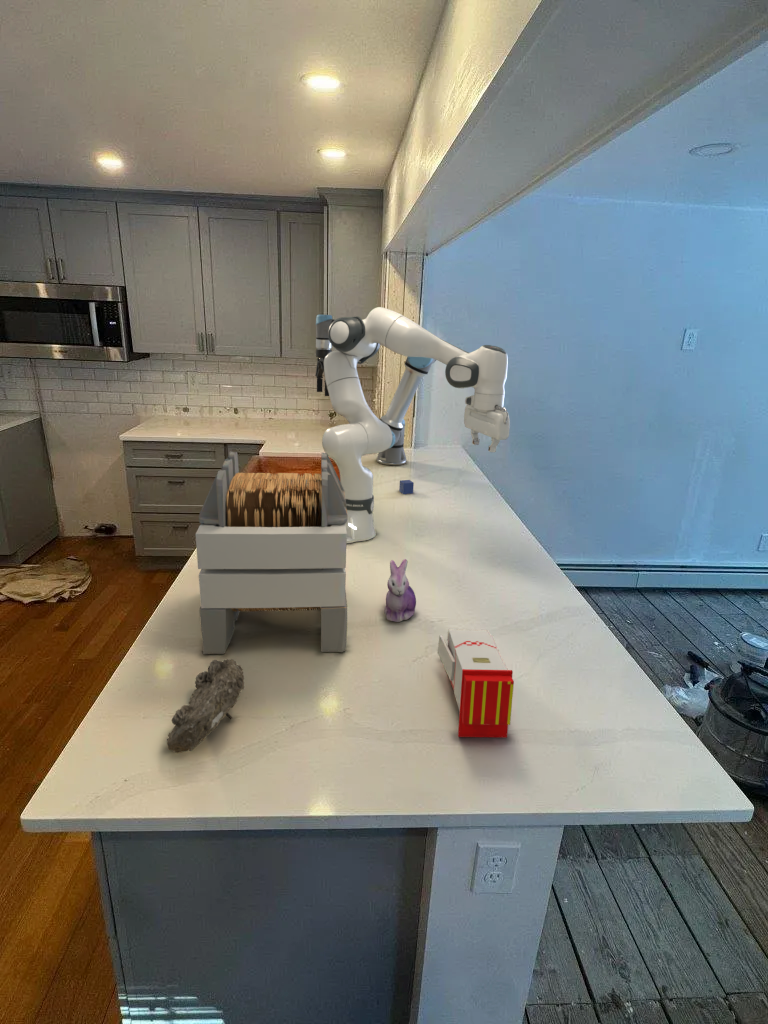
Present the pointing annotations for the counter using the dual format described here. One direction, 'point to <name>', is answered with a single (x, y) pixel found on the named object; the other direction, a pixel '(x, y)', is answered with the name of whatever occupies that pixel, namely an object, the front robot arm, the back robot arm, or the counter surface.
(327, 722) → the counter surface
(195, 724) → the fossil
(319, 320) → the back robot arm
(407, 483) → the brick
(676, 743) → the counter surface
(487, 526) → the counter surface
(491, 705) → the toy
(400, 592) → the figurine
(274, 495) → the transformer
